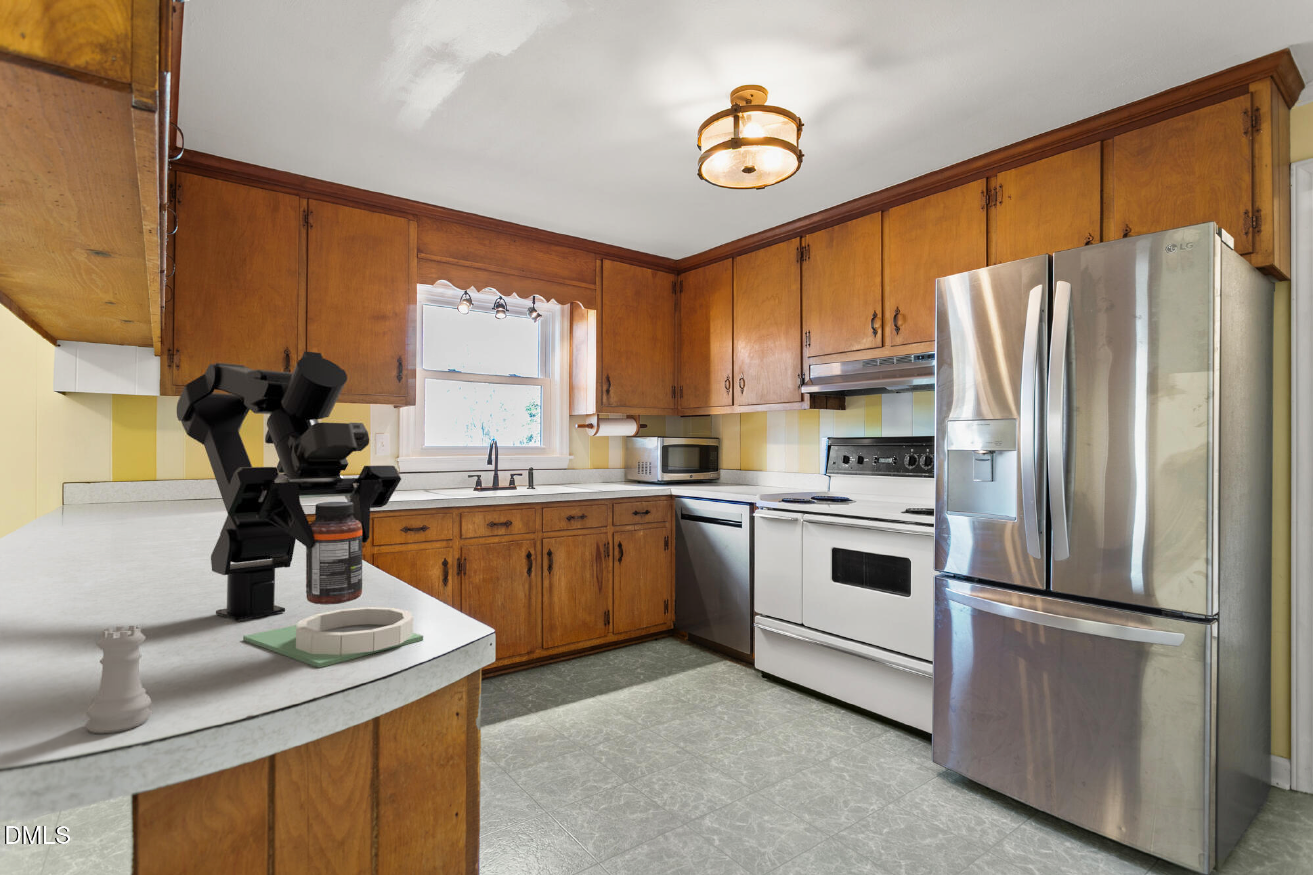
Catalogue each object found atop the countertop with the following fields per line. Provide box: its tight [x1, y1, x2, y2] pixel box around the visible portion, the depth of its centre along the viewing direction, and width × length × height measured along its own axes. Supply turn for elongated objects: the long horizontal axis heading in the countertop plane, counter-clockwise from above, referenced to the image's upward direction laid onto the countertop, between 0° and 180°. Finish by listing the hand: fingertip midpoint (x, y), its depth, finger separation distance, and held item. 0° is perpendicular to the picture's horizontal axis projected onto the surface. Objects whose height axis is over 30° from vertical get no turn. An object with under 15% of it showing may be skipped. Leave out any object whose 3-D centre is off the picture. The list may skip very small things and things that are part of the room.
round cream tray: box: [296, 606, 414, 655], centre depth 80 cm, size 13×13×2 cm
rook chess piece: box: [84, 624, 153, 735], centre depth 56 cm, size 4×4×8 cm
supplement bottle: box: [305, 500, 363, 606], centre depth 78 cm, size 6×6×11 cm
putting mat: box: [242, 624, 424, 669], centre depth 81 cm, size 17×13×1 cm
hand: (340, 543), depth 77 cm, fingers closed on supplement bottle, 6 cm apart
